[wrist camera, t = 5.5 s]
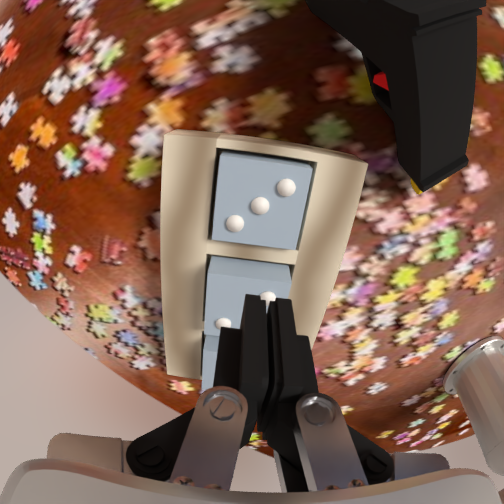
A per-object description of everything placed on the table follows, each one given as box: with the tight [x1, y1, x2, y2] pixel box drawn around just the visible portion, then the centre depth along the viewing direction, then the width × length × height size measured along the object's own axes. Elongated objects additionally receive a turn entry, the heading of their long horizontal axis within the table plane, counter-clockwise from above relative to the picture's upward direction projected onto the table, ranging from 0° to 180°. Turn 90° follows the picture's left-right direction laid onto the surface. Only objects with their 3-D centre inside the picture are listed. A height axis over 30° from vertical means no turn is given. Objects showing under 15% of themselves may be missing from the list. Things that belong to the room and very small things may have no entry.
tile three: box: [212, 150, 313, 250], centre depth 21 cm, size 6×6×3 cm
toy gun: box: [305, 0, 486, 194], centre depth 17 cm, size 5×18×12 cm
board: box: [160, 129, 368, 380], centre depth 26 cm, size 14×24×4 cm, turn 172°
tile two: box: [204, 256, 292, 336], centre depth 24 cm, size 6×6×3 cm
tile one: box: [202, 334, 219, 390], centre depth 28 cm, size 6×6×3 cm
